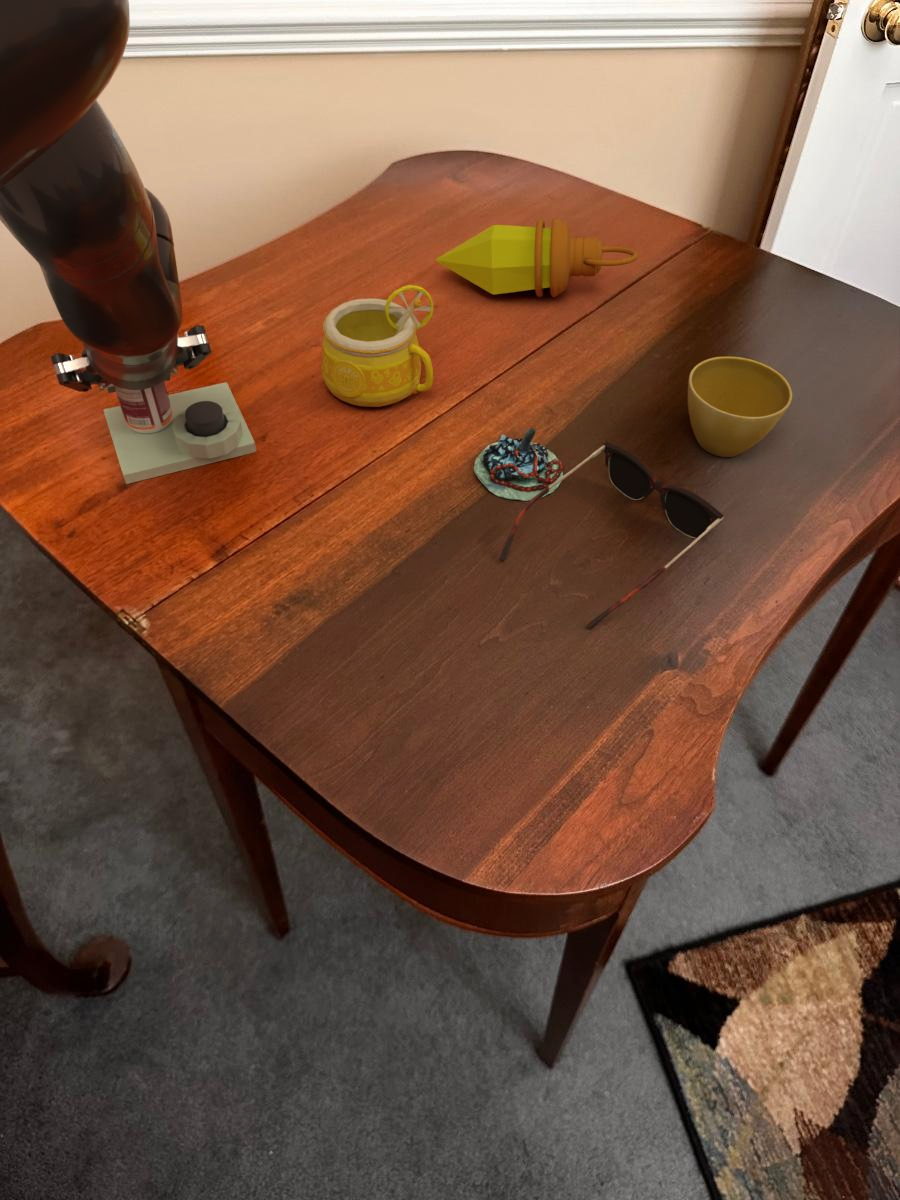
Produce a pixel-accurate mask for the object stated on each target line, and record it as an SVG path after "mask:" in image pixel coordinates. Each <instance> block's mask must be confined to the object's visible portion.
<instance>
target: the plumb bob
mask: <svg viewBox="0 0 900 1200" xmlns="http://www.w3.org/2000/svg"><path fill="white" fill-rule="evenodd" d="M550 226H551V227H546V225H545V219H544V218H543V217H539V218H537V219H536V224H535V226H522V225H510V224H493V225H491V226H490V227H488V228H486V229H484V230H483V231H481V232H479V233H478V234H476V235H474V236H472V237H471V238H469V239H467V240H465V241H464V242H462V243H461V244H459V245H457V246H456V247H454V248H452V249H450V250H448V251H447V252H445V253H444V254H442V255H440V256H438V257H437V258H434V261H435V262H437V263H438V264H440V266H443V267H444V268H447V269H448V270H449V271H452V272H454V273H455V274H457V275H458V276H460V277H462V278H464V280H467V281H469V282H471V283H472V284H474V285H475V286H478V287H479V288H481V289H482V290H484V291H485V292H487V293H489V294H491V295H500V294H501V295H502V294H509V293H516V292H517V293H518V292H523V291H531V290H532V291H533V290H535V295H536V297H537V298H541V297H543V295H544V289H547V288H549V289H550V291H549V292H550V296H551V297H553V298H555V297H557V296H558V295H560V294H562V293H563V292H564V291H565V290H566V289H567V288H568V285H569V282H570V279H571V277H577V278H578V277H596V276H597V274H599V273H600V271H601V269H602V267H616V266H624V265H628V264H631V263H634V262H635V261H636V260H638V257H639V252H637V251H636V250H635V249H632V248H628V247H623V246H603V245H602V242H601V240H600V239H598V237H597V236H587V237H586V236H585V237H583V238H582V237H575V238H574V237H572V235H571V231H570V228H569V225H568V224H567V223H566V222H565V221H564V220H562V219H561V218H559V217H557V216H556V217H553V218H552V220H551V225H550ZM603 253H621V254H627V255H630V257H629V256H628V257H625V258H622V259H612V260H611V259H610V260H604V259H603Z"/></svg>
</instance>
